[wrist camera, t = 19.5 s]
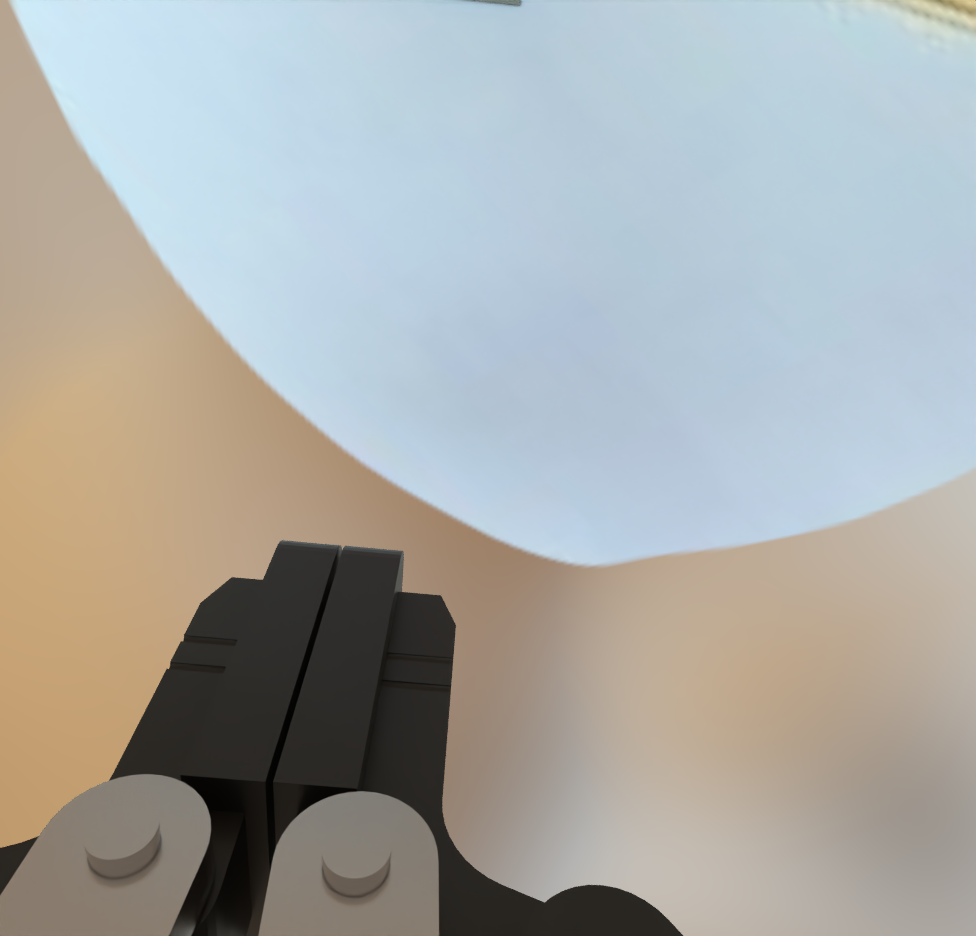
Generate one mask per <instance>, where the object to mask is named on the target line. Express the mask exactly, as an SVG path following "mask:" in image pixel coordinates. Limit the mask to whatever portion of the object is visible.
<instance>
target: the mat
mask: <svg viewBox="0 0 976 936" xmlns="http://www.w3.org/2000/svg"><path fill="white" fill-rule="evenodd" d="M477 1H485V2H494V3H503V4H512V5H520V1H521V0H477Z"/></svg>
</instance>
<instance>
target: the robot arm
mask: <svg viewBox="0 0 976 936" xmlns="http://www.w3.org/2000/svg"><path fill="white" fill-rule="evenodd" d="M403 555H404V554H403V551H396V550H386V549H375V548H374V549H373V548H363V547H352V546H345V547H344V548H343V551H342V547H341V546H339V545H327V544H317V543H305V542H294V541H283V540H282V541H280V543H279V544H278V546H277V548H276V550H275V553H274V555H273V557H272V560H271V562H270V564H269V567H268V569H267V572H266V574H265V576H264V579H263V580H256V579H245V578H234V577H233V578H231V579H229V580H228V581H227V582H226V583H225V584H223V585H222V586H221V587H219V588H218V589H217V590H216V591H215V592H213V593H212V594H211V595H210V596H209V597H208V598H206V599H205V600H204V601H202V602H201V603H200V605H199V607H198V609H197V611H196V613H195V615H194V617H193V619H192V621H191V623H190V625H189V627H188V629H187V631H186V633H185V634H184V641H183V642H180V644H179V646H178V648H177V650H176V652H175V654H174V656H173V658H172V660H171V663H170V668H169V669H167V670H166V672H165V673H164V675H163V678H162V679H161V681H160V683H159V685H158V687H157V689H156V691H155V693H154V695H153V697H152V699H151V701H150V703H149V705H148V707H147V709H146V711H145V713H144V715H143V717H142V718H141V720H140V722H139V724H138V726H137V728H136V730H135V732H134V734H133V736H132V738H131V740H130V742H129V744H128V746H127V748H126V750H125V752H124V754H123V755H122V758H121V759H120V761H119V763H118V765H117V768H116V769H115V771H114V773H113V775H112V777H111V778H110V780H109V781H107V782H104V783H102V784H100V785H97V786H95V787H93V788H91V789H89V790H87V791H85V792H84V793H82V794H80V795H79V796H77V797H76V798H74V799H73V800H72V801H70V802H69V803H68V804H66V805H65V806H64V807H63V808H62V809H61V810H60V811H59V812H58V813H57V814H56V815H55V816H54V817H53V818H52V819H51V820H50V822H49V823H48V824H47V825H46V827H45V828H44V830H43V831H42V832H41V834H40V836H38V837H36V838H33V839H30V840H27V841H25V842H22V843H18V844H15V845H10V846H7V847H3V848H0V936H683V935H682V934H681V933H680V932H679V931H678V930H677V929H676V927H675V926H674V925H673V924H672V923H671V922H670V921H669V920H668V919H667V918H666V917H665V916H664V915H663V914H662V913H661V912H660V911H659V910H657V909H656V908H655V907H653V906H652V905H650V904H649V903H648V902H646V901H645V900H643V899H641V898H639V897H637V896H636V895H633V894H632V893H629V892H626V891H624V890H621V889H618V888H613V887H608V886H601V885H585V886H578V887H573V888H570V889H567V890H564V891H562V892H560V893H558V894H556V895H555V896H553V897H551V898H550V899H549V900H547V901H546V902H545V903H544V902H542V901H539V900H537V899H534V898H532V897H530V896H527V895H525V894H522V893H520V892H518V891H515V890H513V889H511V888H508V887H506V886H503V885H501V884H499V883H497V882H495V881H493V880H491V879H489V878H487V877H486V876H485V875H483V874H482V873H480V872H479V871H477V870H476V869H475V868H474V867H473V866H472V865H471V864H470V863H468V862H467V861H466V860H465V859H464V857H463V856H462V855H461V854H460V852H459V851H458V850H457V849H456V847H455V846H454V844H453V842H452V840H451V838H450V837H449V834H448V832H447V829H446V826H445V824H444V818H443V813H442V795H443V783H444V770H445V756H446V743H447V732H448V719H449V706H450V692H451V679H452V666H453V654H454V641H455V628H456V625H455V623H454V621H453V619H452V617H451V615H450V613H449V611H448V609H447V607H446V605H445V603H444V601H443V599H442V597H441V596H440V595H429V594H418V593H406V592H402V579H403V560H404V556H403Z"/></svg>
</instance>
